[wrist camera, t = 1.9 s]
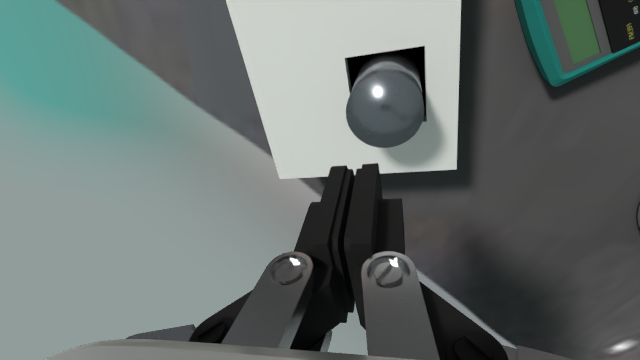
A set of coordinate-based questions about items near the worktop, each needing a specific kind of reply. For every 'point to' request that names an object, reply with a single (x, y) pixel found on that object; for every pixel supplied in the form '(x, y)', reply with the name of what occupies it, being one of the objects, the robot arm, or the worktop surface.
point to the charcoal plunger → (386, 101)
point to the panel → (346, 78)
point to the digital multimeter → (578, 34)
